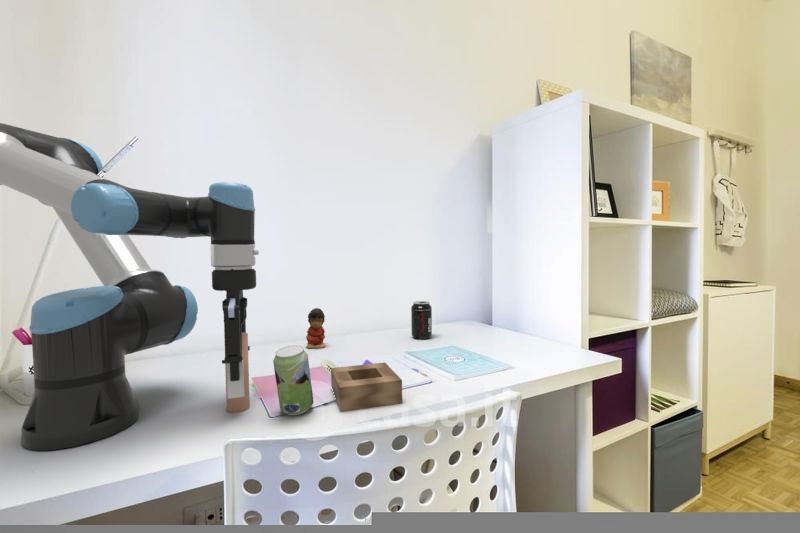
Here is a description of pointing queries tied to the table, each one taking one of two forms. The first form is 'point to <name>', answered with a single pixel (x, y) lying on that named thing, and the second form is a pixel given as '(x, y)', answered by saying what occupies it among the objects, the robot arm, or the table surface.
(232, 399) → the dowel
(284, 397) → the beverage can
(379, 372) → the socket block
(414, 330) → the beverage can
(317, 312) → the figurine
